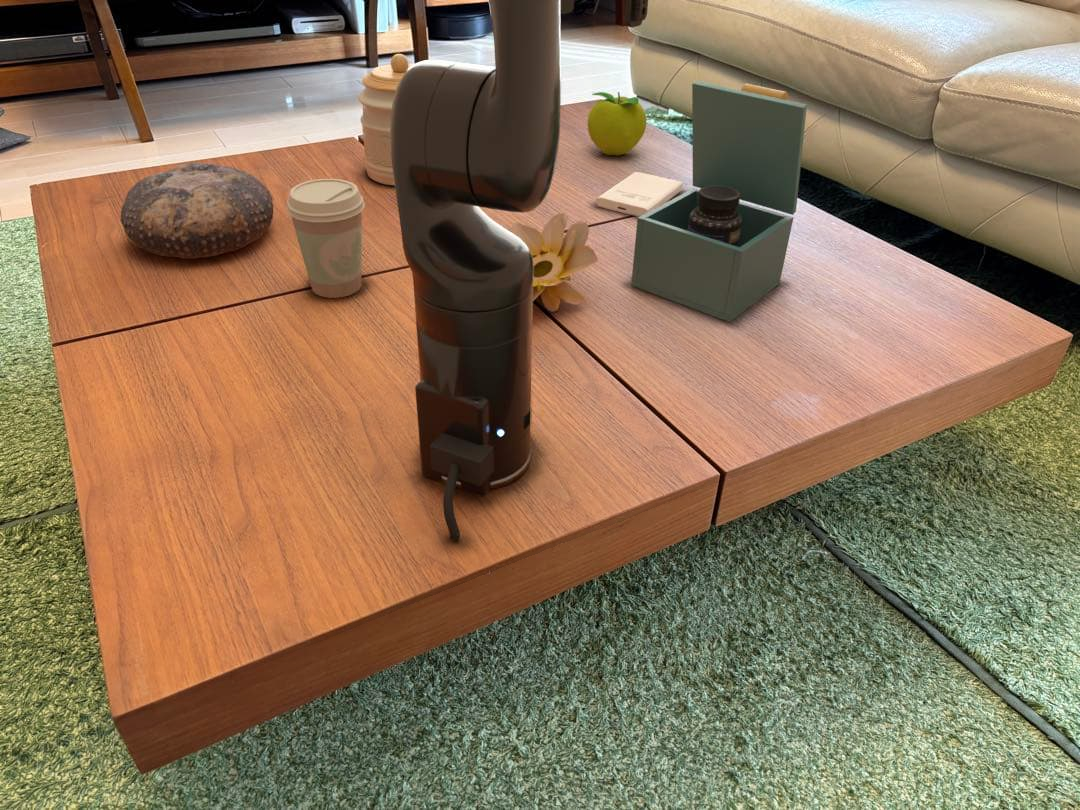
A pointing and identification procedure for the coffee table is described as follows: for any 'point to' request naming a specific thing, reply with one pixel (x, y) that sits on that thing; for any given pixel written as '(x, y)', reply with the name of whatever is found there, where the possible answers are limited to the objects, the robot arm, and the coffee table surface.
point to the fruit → (616, 123)
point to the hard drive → (639, 194)
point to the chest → (709, 258)
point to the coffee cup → (329, 234)
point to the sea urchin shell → (196, 211)
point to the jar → (380, 116)
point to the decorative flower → (557, 258)
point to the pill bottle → (717, 214)
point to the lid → (748, 143)
